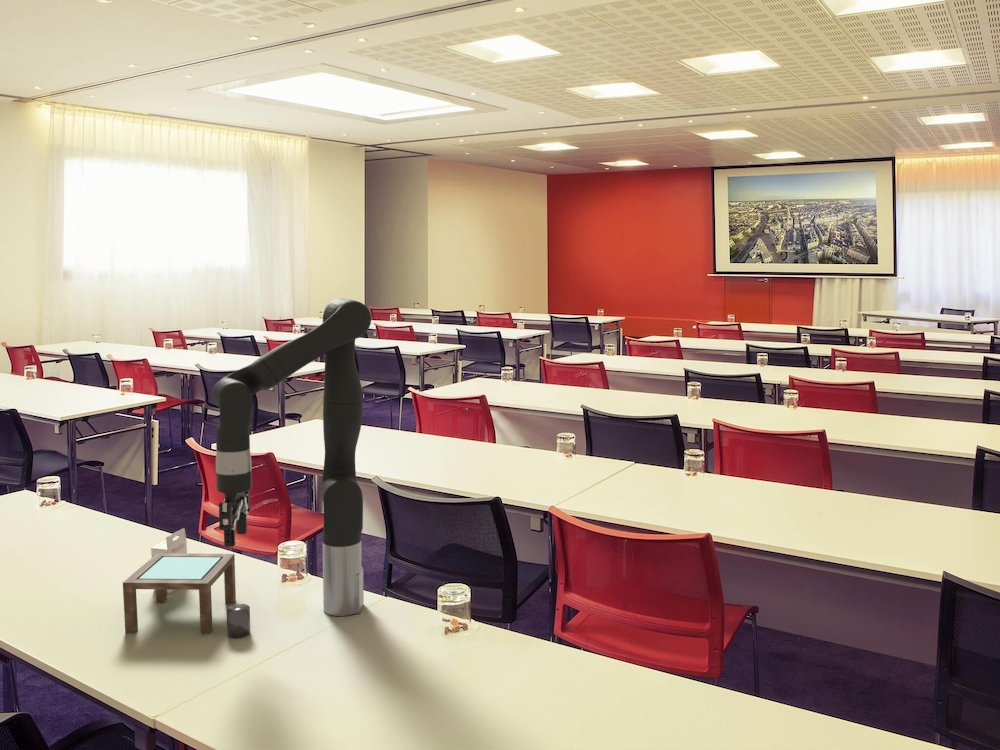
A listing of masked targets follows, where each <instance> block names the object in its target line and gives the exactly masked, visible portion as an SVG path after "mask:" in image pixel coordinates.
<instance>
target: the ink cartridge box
mask: <svg viewBox="0 0 1000 750" xmlns="http://www.w3.org/2000/svg"><path fill="white" fill-rule="evenodd" d="M187 544H188V543H187V537H186V529H185V528H184V527H183V528H181V529H180V530H177V531H175V532H174V533H171V534H170V535H168V536H166V538H165V540H164V541H161V542H160V543H158V544H155V545H154V546H152V547H150V550H151V552H150V554H151V558H152V557H153V556H155V555H156V554H157V553H188V548H187V546H188V545H187ZM173 591H175V590H172V589H167V594H168V593H172V592H173ZM153 592H155V593H156V589H153Z"/></svg>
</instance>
